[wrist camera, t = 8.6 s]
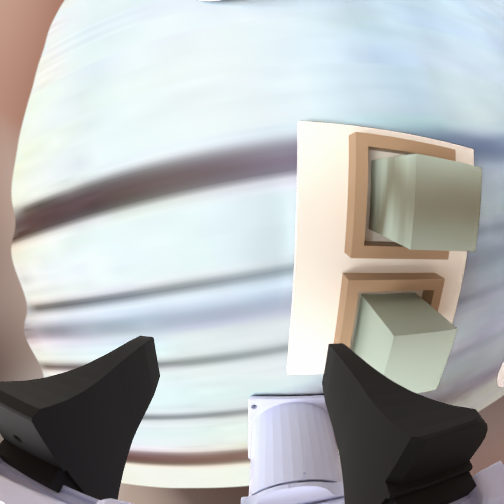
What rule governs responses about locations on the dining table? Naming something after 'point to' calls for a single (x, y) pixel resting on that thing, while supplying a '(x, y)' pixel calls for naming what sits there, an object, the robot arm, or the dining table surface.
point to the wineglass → (501, 376)
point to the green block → (426, 202)
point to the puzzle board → (366, 263)
